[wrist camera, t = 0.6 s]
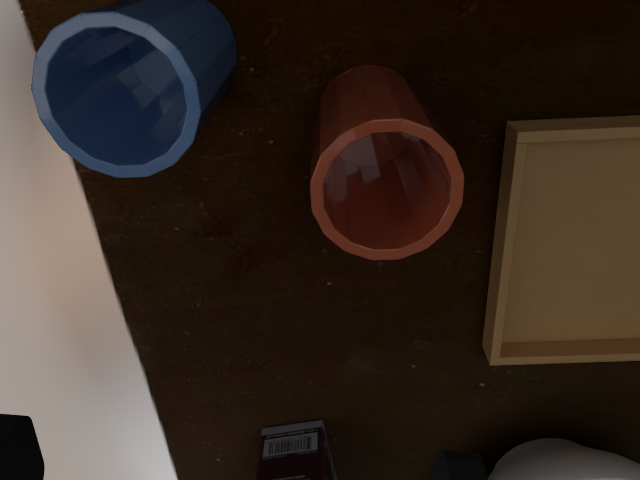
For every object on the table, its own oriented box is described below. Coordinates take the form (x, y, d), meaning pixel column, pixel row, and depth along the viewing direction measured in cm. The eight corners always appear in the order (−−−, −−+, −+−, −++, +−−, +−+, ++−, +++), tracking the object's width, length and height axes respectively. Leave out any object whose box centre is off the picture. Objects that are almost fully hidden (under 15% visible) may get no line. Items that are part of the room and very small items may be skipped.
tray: (506, 120, 30) (517, 132, 28) (757, 109, 30) (784, 120, 28) (481, 345, 37) (489, 366, 36) (684, 338, 37) (702, 358, 35)
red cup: (311, 66, 29) (305, 122, 20) (424, 61, 29) (469, 115, 20) (316, 172, 32) (314, 262, 23) (420, 168, 32) (458, 257, 23)
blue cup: (110, -9, 27) (10, 16, 19) (230, -15, 27) (185, 7, 18) (135, 110, 30) (56, 181, 21) (243, 105, 30) (210, 174, 21)
